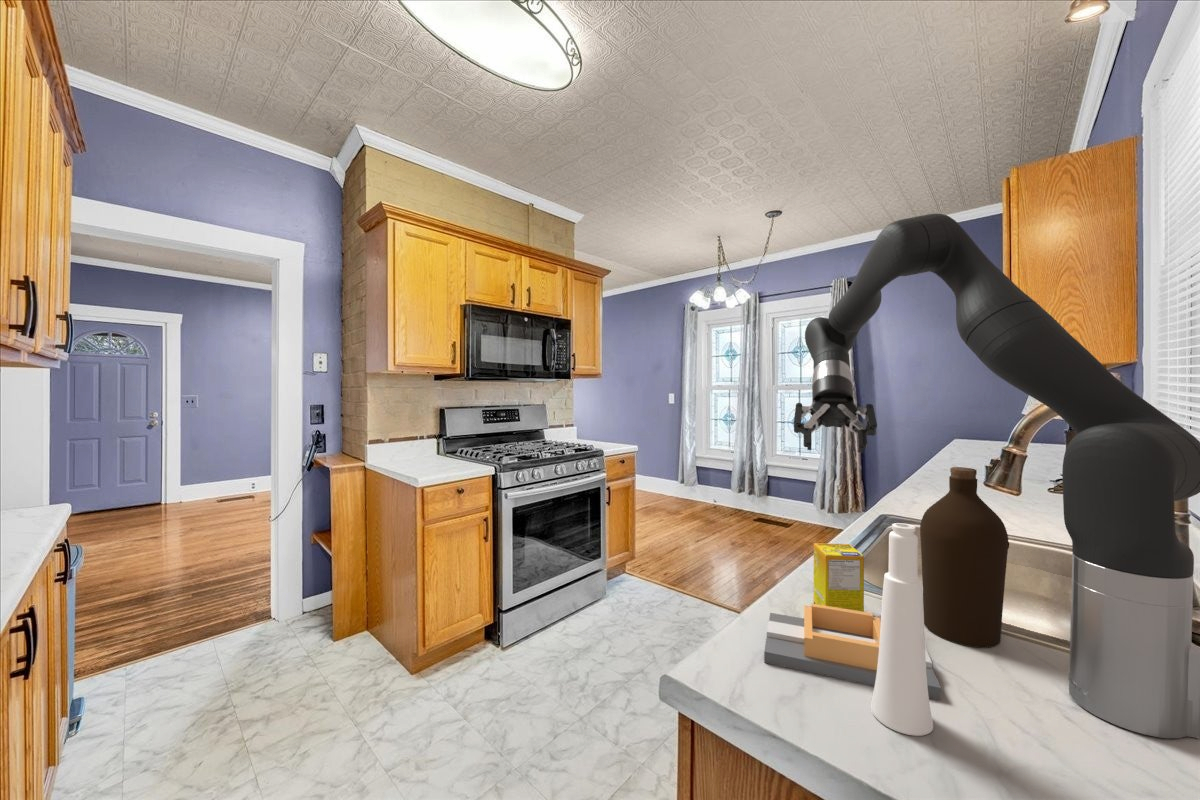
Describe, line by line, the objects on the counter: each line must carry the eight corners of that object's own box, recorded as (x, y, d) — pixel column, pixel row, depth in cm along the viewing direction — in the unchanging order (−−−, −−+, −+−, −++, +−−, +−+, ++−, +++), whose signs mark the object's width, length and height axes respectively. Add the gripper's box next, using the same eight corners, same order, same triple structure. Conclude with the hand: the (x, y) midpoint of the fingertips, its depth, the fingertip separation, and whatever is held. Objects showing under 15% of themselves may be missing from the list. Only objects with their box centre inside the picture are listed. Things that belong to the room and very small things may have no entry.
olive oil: (953, 651, 67) (956, 475, 66) (903, 615, 78) (905, 463, 77) (1026, 650, 67) (1030, 474, 66) (966, 614, 78) (969, 462, 77)
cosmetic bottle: (939, 743, 50) (943, 536, 49) (874, 727, 52) (876, 529, 52) (926, 707, 56) (929, 521, 55) (867, 694, 58) (869, 515, 57)
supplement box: (848, 606, 81) (849, 543, 81) (864, 624, 75) (865, 555, 75) (812, 605, 81) (812, 542, 81) (825, 622, 75) (825, 554, 75)
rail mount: (918, 648, 68) (918, 617, 68) (940, 700, 57) (941, 663, 57) (770, 621, 76) (770, 594, 76) (764, 662, 65) (764, 629, 65)
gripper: (794, 373, 98) (793, 434, 88) (873, 373, 93) (881, 437, 83) (795, 398, 104) (793, 458, 93) (869, 399, 98) (876, 463, 88)
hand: (834, 448), depth 88 cm, fingers open, 8 cm apart
